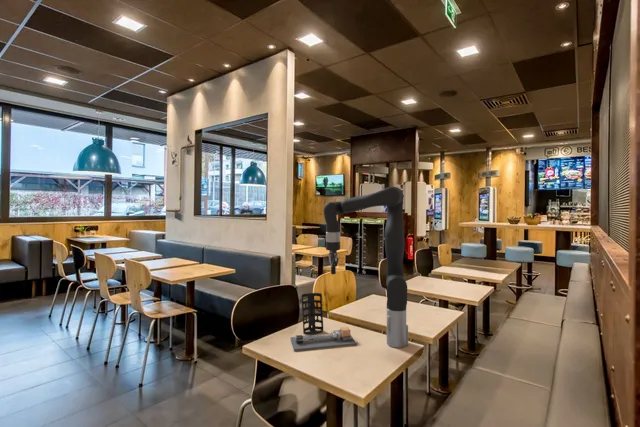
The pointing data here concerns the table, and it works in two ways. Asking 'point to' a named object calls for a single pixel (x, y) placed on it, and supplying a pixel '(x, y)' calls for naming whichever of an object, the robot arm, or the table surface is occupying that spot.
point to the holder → (312, 313)
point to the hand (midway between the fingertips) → (333, 273)
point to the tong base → (335, 336)
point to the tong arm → (312, 336)
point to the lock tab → (345, 331)
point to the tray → (320, 344)
